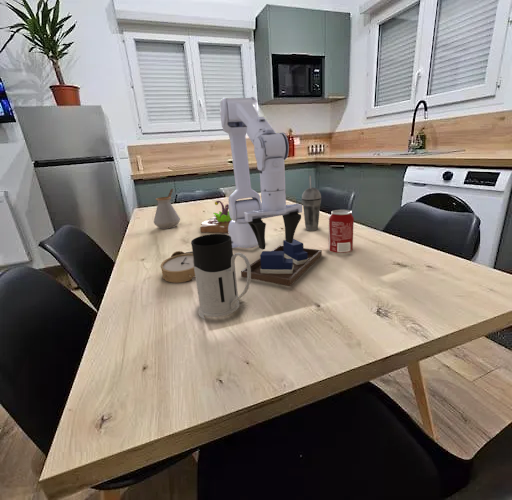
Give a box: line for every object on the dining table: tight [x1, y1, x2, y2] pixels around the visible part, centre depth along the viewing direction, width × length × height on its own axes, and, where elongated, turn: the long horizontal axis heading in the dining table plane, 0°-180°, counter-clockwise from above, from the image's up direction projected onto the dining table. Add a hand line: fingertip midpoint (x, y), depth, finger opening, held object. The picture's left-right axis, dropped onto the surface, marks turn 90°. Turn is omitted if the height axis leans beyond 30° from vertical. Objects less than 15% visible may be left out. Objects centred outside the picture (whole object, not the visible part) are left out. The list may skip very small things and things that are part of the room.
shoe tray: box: [240, 244, 323, 287], centre depth 78 cm, size 13×21×2 cm, turn 149°
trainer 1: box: [259, 250, 294, 274], centre depth 74 cm, size 8×4×5 cm, turn 79°
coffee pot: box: [153, 188, 181, 230], centre depth 135 cm, size 21×12×15 cm, turn 179°
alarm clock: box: [160, 250, 196, 284], centre depth 81 cm, size 11×5×15 cm
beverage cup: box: [301, 175, 322, 232], centre depth 109 cm, size 7×7×20 cm
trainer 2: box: [282, 238, 309, 265], centre depth 81 cm, size 8×4×5 cm, turn 24°
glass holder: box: [190, 233, 252, 320], centre depth 56 cm, size 9×14×15 cm, turn 46°
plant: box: [200, 200, 232, 234], centre depth 123 cm, size 20×20×11 cm
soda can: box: [328, 209, 355, 254], centre depth 85 cm, size 7×7×12 cm
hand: (275, 245), depth 73 cm, fingers open, 7 cm apart
